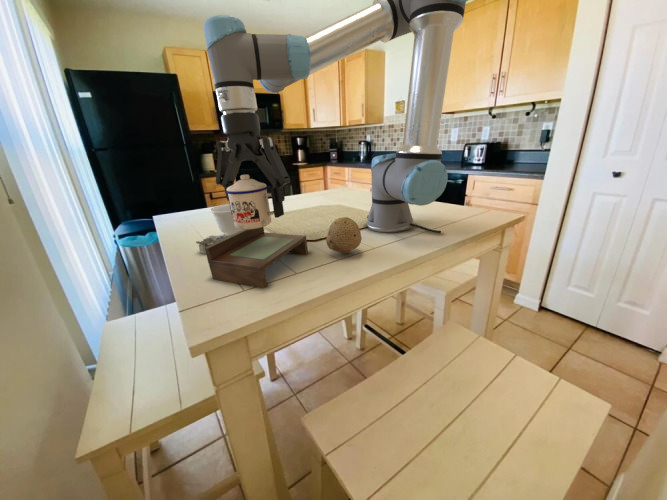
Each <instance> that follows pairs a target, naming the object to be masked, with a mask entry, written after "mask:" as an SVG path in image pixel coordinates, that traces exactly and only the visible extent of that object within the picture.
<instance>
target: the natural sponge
mask: <svg viewBox="0 0 667 500" xmlns="http://www.w3.org/2000/svg"><path fill="white" fill-rule="evenodd" d="M325 242H326V246H327V248H329V249H330V250H332V251H335V252H337V253H339V254H343V255H344V254H345V255H346V254H348V253H350V252H352V251H353V250H355V249H357V248H358V247H359V246H360V244H361V243H362V233H361V229H360V227H359V225H358V223H357V222H356V221H355V220H353V219H352V218H350V217H348V216H343V217H338V218H335V220H334V221H332V222H331V224H330V225H329V229H328V231H327V234H326V239H325Z"/></svg>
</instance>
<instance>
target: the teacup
mask: <svg viewBox="0 0 667 500" xmlns="http://www.w3.org/2000/svg"><path fill="white" fill-rule="evenodd" d="M209 212H211V213H212V215H213V217H214V219H215V222H216V224H217V228H218V229H219V231H220V232H221V233H223V234H224V235H231V234H236V233H238V232H240V231H242V230H244V229H238V228H236V227H235V224H234V220H233V215H232V214H231V209H230V204H229V203H225V204H220V205H216V206H214V207H212V208H210V209H209Z"/></svg>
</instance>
